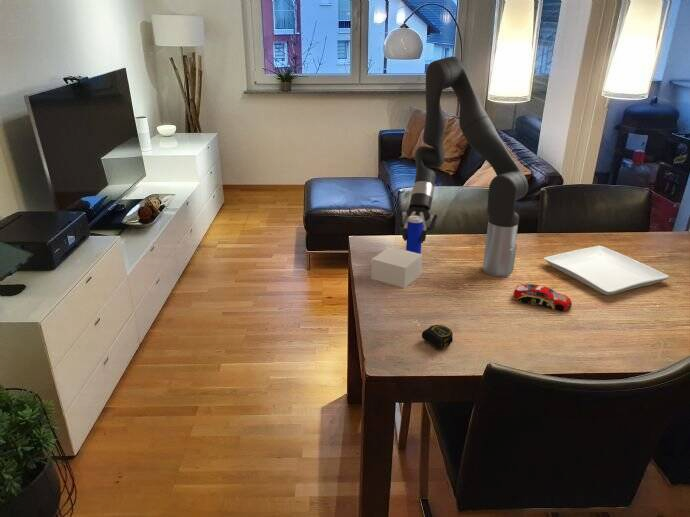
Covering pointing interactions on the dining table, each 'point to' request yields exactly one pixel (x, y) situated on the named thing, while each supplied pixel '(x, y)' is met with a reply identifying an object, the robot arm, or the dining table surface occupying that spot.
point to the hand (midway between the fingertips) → (413, 240)
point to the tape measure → (438, 336)
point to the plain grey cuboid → (396, 267)
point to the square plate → (605, 269)
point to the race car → (542, 297)
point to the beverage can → (414, 234)
